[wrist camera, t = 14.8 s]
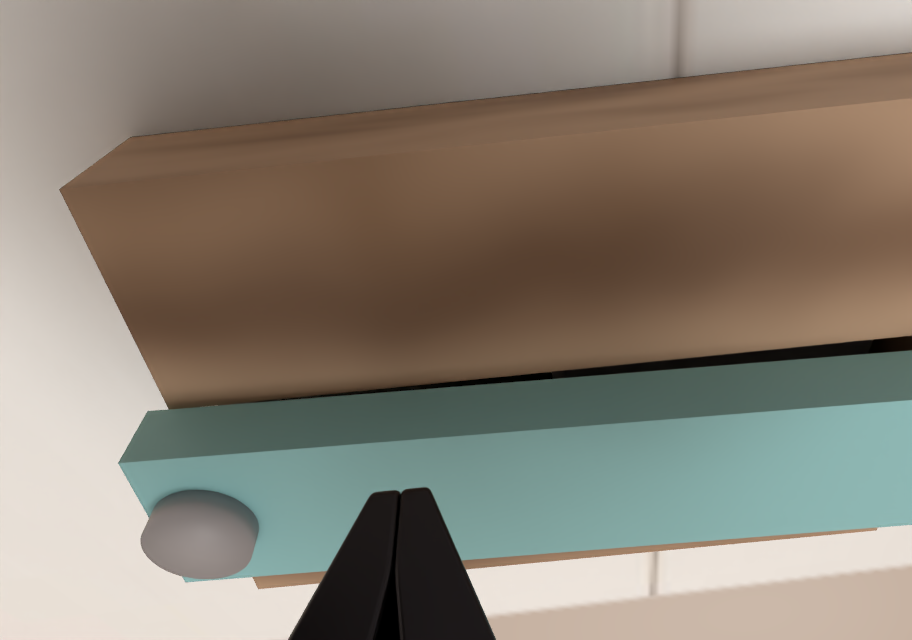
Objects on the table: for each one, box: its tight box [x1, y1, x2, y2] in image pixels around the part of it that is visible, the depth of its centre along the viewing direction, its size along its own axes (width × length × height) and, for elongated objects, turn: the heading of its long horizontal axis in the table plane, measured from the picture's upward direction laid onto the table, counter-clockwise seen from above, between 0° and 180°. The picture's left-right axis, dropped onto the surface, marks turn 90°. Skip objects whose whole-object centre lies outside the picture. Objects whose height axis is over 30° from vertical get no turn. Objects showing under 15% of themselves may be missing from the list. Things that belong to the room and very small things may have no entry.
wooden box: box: [59, 53, 912, 589], centre depth 20 cm, size 16×24×4 cm
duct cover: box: [118, 350, 912, 582], centre depth 18 cm, size 6×25×3 cm, turn 94°
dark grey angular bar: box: [551, 339, 873, 379], centre depth 21 cm, size 3×10×3 cm
